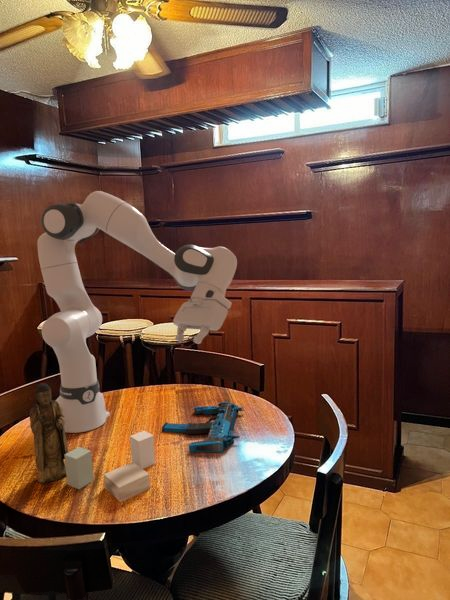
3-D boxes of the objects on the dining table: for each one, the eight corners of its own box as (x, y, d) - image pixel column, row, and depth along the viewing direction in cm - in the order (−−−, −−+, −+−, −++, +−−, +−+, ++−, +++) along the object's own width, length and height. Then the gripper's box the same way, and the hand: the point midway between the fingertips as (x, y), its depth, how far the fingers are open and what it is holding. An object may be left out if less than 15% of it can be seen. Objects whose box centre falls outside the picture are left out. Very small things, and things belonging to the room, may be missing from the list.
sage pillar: (67, 484, 108) (64, 454, 107) (81, 475, 112) (79, 446, 110) (79, 489, 106) (76, 459, 104) (93, 480, 109) (90, 450, 108)
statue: (27, 488, 107) (16, 392, 103) (45, 468, 116) (35, 379, 112) (63, 488, 106) (53, 391, 103) (78, 468, 115) (69, 378, 112)
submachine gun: (176, 398, 156) (245, 394, 153) (178, 407, 157) (246, 404, 154) (149, 443, 122) (237, 440, 119) (151, 456, 123) (238, 453, 120)
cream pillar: (132, 463, 117) (129, 436, 115) (146, 457, 120) (144, 430, 118) (140, 470, 113) (138, 441, 112) (155, 463, 116) (153, 435, 115)
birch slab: (105, 489, 106) (103, 474, 105) (134, 476, 111) (132, 461, 110) (120, 503, 100) (119, 487, 99) (150, 489, 105) (149, 474, 104)
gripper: (179, 294, 131) (160, 334, 127) (219, 292, 115) (198, 338, 111) (195, 304, 135) (176, 344, 130) (235, 303, 118) (216, 349, 114)
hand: (187, 341), depth 120 cm, fingers open, 8 cm apart
